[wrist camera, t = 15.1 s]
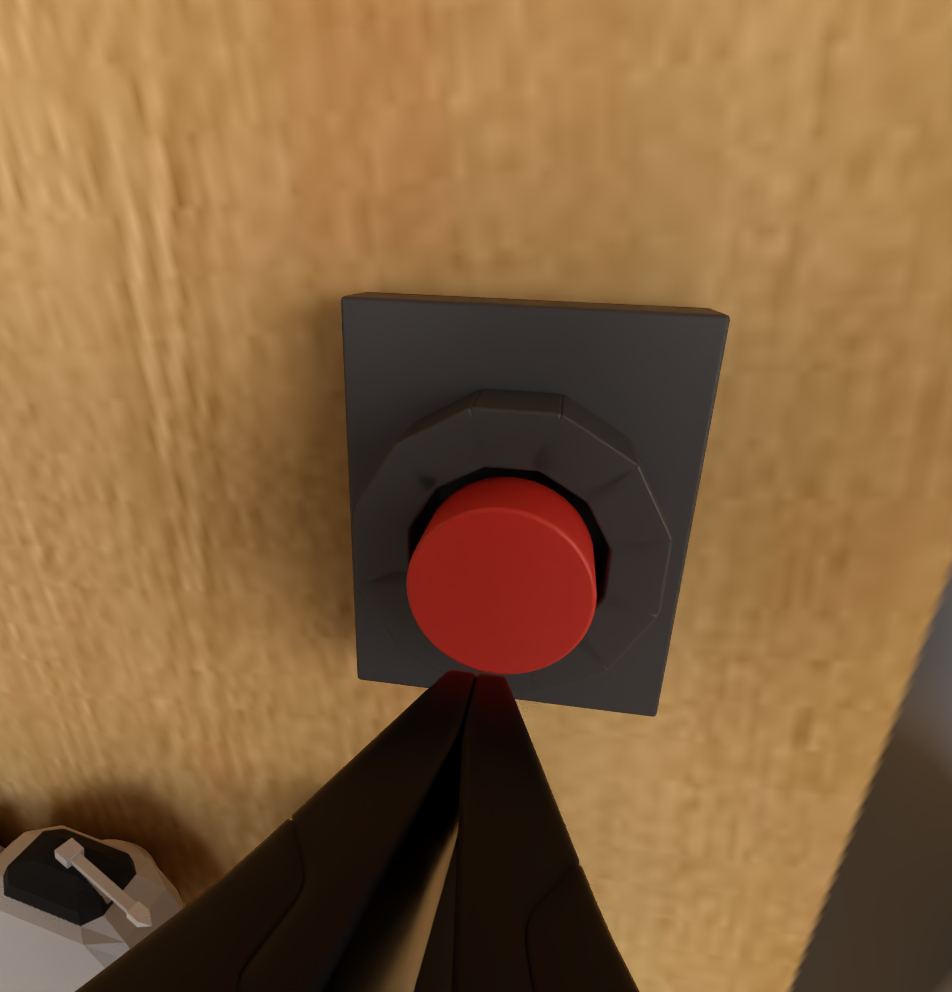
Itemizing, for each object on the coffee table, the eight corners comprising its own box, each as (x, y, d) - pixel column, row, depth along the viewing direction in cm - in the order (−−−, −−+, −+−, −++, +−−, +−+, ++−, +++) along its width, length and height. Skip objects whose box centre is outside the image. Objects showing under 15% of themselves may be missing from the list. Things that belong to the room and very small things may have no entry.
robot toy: (-71, 895, 28) (223, 1017, 26) (-191, 1004, 24) (149, 1158, 22) (-117, 689, 23) (238, 820, 21) (-276, 780, 19) (147, 953, 17)
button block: (648, 676, 17) (666, 773, 14) (375, 643, 18) (332, 727, 15) (713, 308, 13) (758, 324, 10) (364, 291, 14) (304, 301, 11)
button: (584, 635, 13) (586, 687, 12) (425, 617, 14) (405, 664, 12) (602, 482, 12) (608, 517, 10) (425, 467, 12) (404, 499, 11)
